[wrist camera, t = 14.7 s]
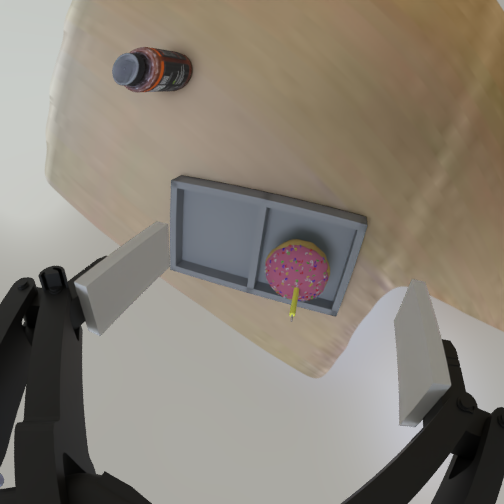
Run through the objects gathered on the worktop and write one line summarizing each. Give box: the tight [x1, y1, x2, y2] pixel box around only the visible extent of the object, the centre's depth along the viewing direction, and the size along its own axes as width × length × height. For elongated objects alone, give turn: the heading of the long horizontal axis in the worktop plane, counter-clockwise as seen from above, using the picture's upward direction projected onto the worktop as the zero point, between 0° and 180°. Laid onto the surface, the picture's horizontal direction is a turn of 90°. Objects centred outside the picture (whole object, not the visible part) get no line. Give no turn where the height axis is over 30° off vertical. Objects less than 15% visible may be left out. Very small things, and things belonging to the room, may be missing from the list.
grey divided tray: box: [170, 175, 367, 316], centre depth 44 cm, size 27×15×3 cm, turn 82°
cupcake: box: [264, 239, 330, 322], centre depth 38 cm, size 9×8×12 cm
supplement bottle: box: [112, 47, 191, 92], centre depth 32 cm, size 6×6×11 cm
